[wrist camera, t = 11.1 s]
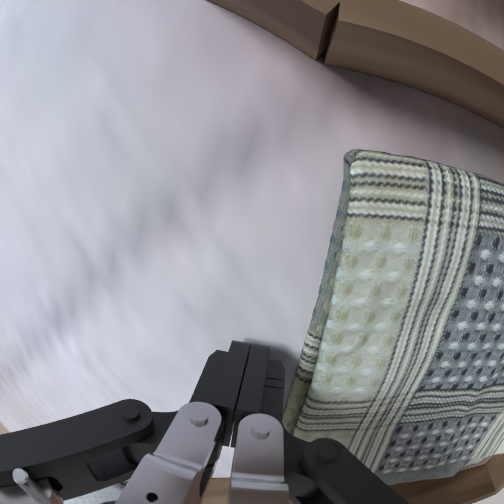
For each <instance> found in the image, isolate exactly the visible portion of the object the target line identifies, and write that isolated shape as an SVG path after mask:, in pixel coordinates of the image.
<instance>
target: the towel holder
mask: <svg viewBox="0 0 504 504" xmlns="http://www.w3.org/2000/svg"><path fill="white" fill-rule="evenodd" d="M208 1H210V2H212V3H215V4H217V5H219V6H221V7H223V8H226V9H228V10H230V11H232V12H234V13H236V14H238V15H240V16H242V17H244V18H246V19H248V20H250V21H252V22H254V23H255V24H257V25H259V26H261V27H263V28H264V29H266V30H268V31H270V32H271V33H273V34H275V35H277V36H278V37H280V38H282V39H283V40H285V41H286V42H288V43H290V44H291V45H293V46H294V47H296V48H298V49H299V50H301V51H302V52H304V53H305V54H307V55H308V56H310V57H311V58H313V59H314V60H315V61H316V60H317V58H318V57H319V56H320V55H321V54H322V53H323V52H324V51H325V50H326V53H325V63H324V64H326V65H331V66H336V67H341V68H345V69H350V70H354V71H358V72H362V73H366V74H370V75H374V76H377V77H381V78H384V79H388V80H391V81H394V82H398V83H401V84H404V85H407V86H410V87H413V88H416V89H418V90H421V91H424V92H427V93H429V94H432V95H435V96H437V97H440V98H442V99H444V100H447V101H449V102H452V103H454V104H456V105H458V106H461V107H463V108H465V109H467V110H469V111H472V112H474V113H476V114H478V115H480V116H482V117H484V118H486V119H488V120H490V121H491V122H493V123H495V124H497V125H499V126H501V127H502V128H504V51H503V50H501V49H500V48H498V47H496V46H495V45H493V44H492V43H490V42H488V41H486V40H485V39H483V38H481V37H480V36H478V35H476V34H474V33H472V32H471V31H469V30H467V29H465V28H463V27H461V26H459V25H457V24H455V23H453V22H451V21H449V20H447V19H444V18H442V17H440V16H438V15H435V14H433V13H431V12H428V11H426V10H423V9H421V8H418V7H416V6H413V5H410V4H408V3H405V2H402V1H399V0H208ZM229 484H230V478H211V480H210V482H209V485H208V487H207V490H206V492H205V495H204V497H203V500H202V503H201V504H227V499H228V491H229ZM388 486H389V487H390V488H391V489H393V490H394V491H395V492H396V493H397V494H399V495H400V496H401V497H402V498H403V499H405V500H406V501H407V502H408V503H409V504H472V503H475V502H477V501H480V500H483V499H485V498H488V497H490V496H492V495H495V494H496V493H497V492H499V491H500V490H501V489H502V488H503V487H504V453H503V454H496V455H494V456H493V457H492V458H491V459H490V460H489V461H488V462H487V463H486V464H485V465H482V466H478V467H475V468H471V469H468V470H464V471H460V472H457V473H456V474H455V475H454V476H451V477H446V478H439V479H429V480H427V479H425V480H419V481H413V482H406V483H396V484H394V485H388ZM289 504H293V502H292V501H291V500H290V499H289Z"/></svg>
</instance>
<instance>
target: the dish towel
mask: <svg viewBox="0 0 504 504" xmlns="http://www.w3.org/2000/svg"><path fill="white" fill-rule="evenodd" d="M343 165H344V180H343V186H342V191H341V195H340V199H339V206H338V210H337V214H336V219H335V222H334V226H333V232H332V235H331V239H330V245H329V249H328V255H327V259H326V263H325V268H324V274H323V278H322V282H321V285H320V289H319V295H318V299H317V302H316V305H315V308H314V311H313V316H312V319H311V323H310V326H309V330H308V333H307V336H306V339H305V343H304V346H303V349H302V352H301V356H300V360H299V364H298V368H297V372H296V376H295V379H294V382H293V384H292V389H291V392H290V395H289V398H288V402H287V406H286V409H285V411H284V414H283V418H282V423H283V425H284V427H285V429H286V430H287V431H288V432H289V433H290V434H292V435H293V436H295V437H297V438H300V439H302V440H305V441H308V442H311V441H313V440H315V439H318V438H331V439H334V440H337V441H339V442H340V443H341V444H343V445H344V446H345V447H346V448H347V449H348V450H349V451H350V452H351V453H352V454H353V455H354V456H355V457H357V458H358V459H359V460H360V461H361V462H362V463H363V464H364V465H365V466H366V467H368V468H369V469H370V470H371V471H372V472H373V473H374V474H375V475H376V476H378V477H379V478H380V479H381V480H382V481H383V482H384V483H386V484H387V485H394V484H396V483H406V482H413V481H419V480H425V479H427V480H429V479H439V478H446V477H451V476H454V475H455V474H456V473H457V472H458V471H459V470H461V468H462V467H463V466H467V465H470V464H472V463H479V462H480V461H482V460H483V459H484V457H489V456H492V455H496V454H503V453H504V184H503V183H500V182H497V181H495V180H493V179H491V178H488V177H486V176H483V175H480V174H475V173H470V172H467V171H463V170H460V169H457V168H453V167H450V166H446V165H443V164H440V163H436V162H433V161H429V160H424V159H419V158H415V157H411V156H400V155H392V154H389V153H386V152H378V151H369V150H360V149H356V150H351V151H349V152H347V153H346V154H345V156H344V164H343Z"/></svg>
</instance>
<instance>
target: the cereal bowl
mask: <svg viewBox="0 0 504 504" xmlns="http://www.w3.org/2000/svg"><path fill="white" fill-rule="evenodd" d="M124 488H125V486H124V485H122V484H120V483H118V484H115V485H112V486H109V487H107V488H104V489H101V490H98V491H95V492H92V493H89V494H86V495H83V496H80V497H76V498H73V499H69V500H66V501H63V504H101V503H104V502H109V501H116V500H117V499H118V498H119V496H120V494H121V493H122V491H123V489H124Z"/></svg>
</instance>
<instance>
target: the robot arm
mask: <svg viewBox="0 0 504 504" xmlns="http://www.w3.org/2000/svg"><path fill="white" fill-rule="evenodd" d="M269 349H270V347H268V346H262V345H256V344H252V346H251V350H250V343H244V342H239V341H234V340H233V341H232V343H231V346H230V349H229V352H225V351H220V350H216V351H215V352H214V353H213V354H211V355H210V356H209V357H208V360H207V362H206V365H205V367H204V369H203V372H202V375H201V376H200V379H199V381H198V383H197V386H196V388H195V390H194V393H193V395H192V398H191V400H190V402H189V403H188V404H185V405H184V406H182V407H181V408H180V410H178V411H175V412H151V409H150V408H149V407H148V405H146V404H145V403H143V402H142V401H139V400H135V399H126V400H122V401H119V402H116V403H113V404H110V405H107V406H104V407H101V408H98V409H95V410H92V411H89V412H86V413H83V414H79V415H76V416H73V417H69V418H66V419H62V420H59V421H55V422H52V423H48V424H44V425H40V426H36V427H32V428H28V429H24V430H20V431H16V432H11V433H6V434H2V435H0V504H63V501H66V500H69V499H73V498H76V497H80V496H83V495H86V494H89V493H92V492H95V491H98V490H101V489H104V488H107V487H109V486H112V485H115V484H118V483H120V482H123V481H125V480H128V479H130V480H129V481H128V483H127V485H126V486H125V488H124V489H123V491H122V493H121V494H120V496H119V498H118V499H117V500H116V501H109V502H104V503H101V504H201V503H202V500H203V497H204V495H205V492H206V490H207V487H208V485H209V482H210V480H211V477H212V475H213V472H214V470H215V467H216V464H217V461H218V459H219V456H220V453H221V449H222V446H228V447H229V444H230V440H231V436H232V441H231V447H234V448H235V451H234V456H233V462H232V469H231V476H230V484H229V491H228V499H227V504H289V499H290V500H291V501H292V502H293V504H409V503H408V502H407V501H406V500H405V499H403V498H402V497H401V496H400V495H399V494H397V493H396V492H395V491H394V490H393V489H391V488H390V487H389V486H388V485H387V484H386V483H384V482H383V481H382V480H381V479H380V478H379V477H378V476H376V475H375V474H374V473H373V472H372V471H371V470H370V469H369V468H368V467H366V466H365V465H364V464H363V463H362V462H361V461H360V460H359V459H358V458H357V457H355V456H354V455H353V454H352V453H351V452H350V451H349V450H348V449H347V448H346V447H345V446H344V445H343V444H341V443H340V442H339V441H337V440H334V439H331V438H318V439H315V440H313V441H311V442H308V441H305V440H302V439H300V438H297V437H295V436H293V435H292V434H290V433H289V432H288V431H287V430H286V429H285V427H284V425H283V423H282V411H283V398H284V384H285V368H284V366H283V364H282V362H281V361H277V360H271V359H268V356H269ZM249 351H250V354H249ZM232 432H233V434H232Z"/></svg>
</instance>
